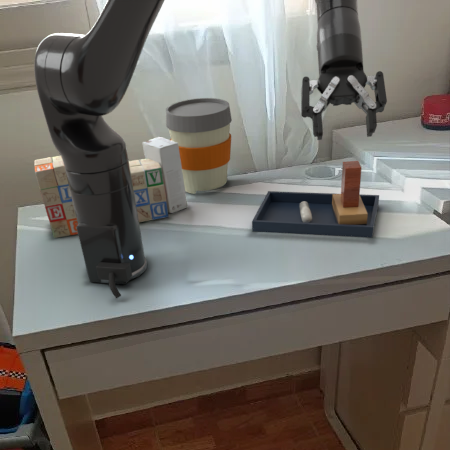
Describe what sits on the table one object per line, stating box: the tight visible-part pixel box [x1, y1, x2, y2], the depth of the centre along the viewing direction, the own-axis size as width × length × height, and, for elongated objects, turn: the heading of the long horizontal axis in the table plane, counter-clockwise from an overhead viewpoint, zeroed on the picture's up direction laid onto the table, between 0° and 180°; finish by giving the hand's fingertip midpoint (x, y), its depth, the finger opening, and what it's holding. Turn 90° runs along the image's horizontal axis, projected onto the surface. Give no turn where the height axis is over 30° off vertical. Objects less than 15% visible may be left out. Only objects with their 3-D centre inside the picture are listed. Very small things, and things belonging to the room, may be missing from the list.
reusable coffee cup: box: [165, 97, 233, 195], centre depth 119 cm, size 13×12×15 cm
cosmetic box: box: [142, 136, 188, 214], centre depth 112 cm, size 6×4×12 cm
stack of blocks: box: [34, 155, 169, 239], centre depth 109 cm, size 21×6×12 cm, turn 105°
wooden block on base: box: [332, 160, 368, 225], centre depth 102 cm, size 9×5×9 cm, turn 0°
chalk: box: [299, 201, 312, 223], centre depth 106 cm, size 7×2×2 cm, turn 0°
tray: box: [251, 190, 380, 239], centre depth 106 cm, size 13×20×3 cm, turn 75°
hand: (345, 136), depth 103 cm, fingers open, 8 cm apart
